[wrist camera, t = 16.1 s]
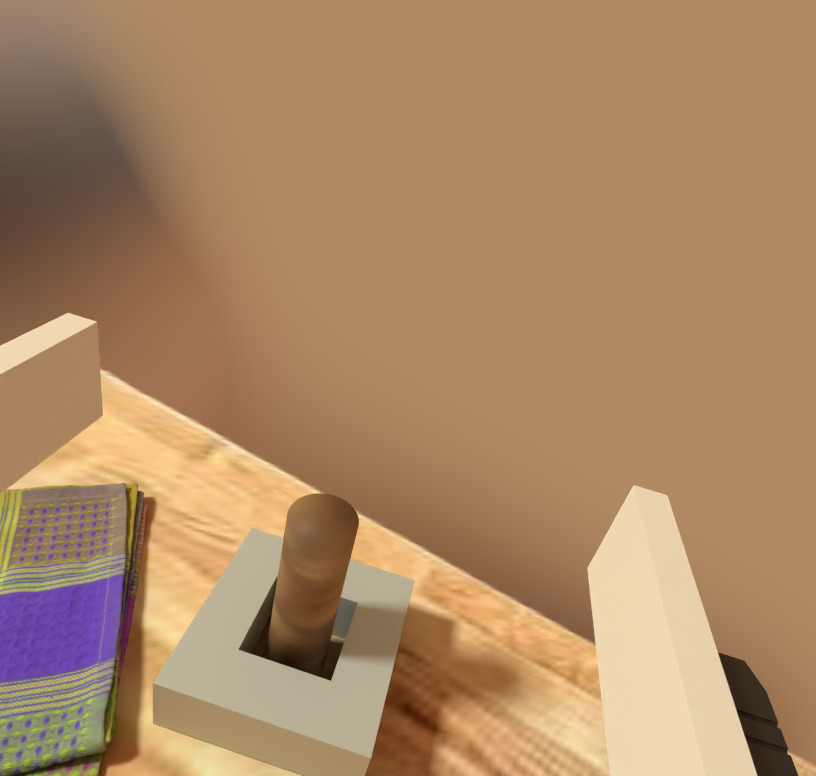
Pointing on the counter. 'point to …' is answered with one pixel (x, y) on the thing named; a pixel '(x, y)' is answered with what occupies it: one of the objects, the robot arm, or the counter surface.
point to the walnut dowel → (310, 580)
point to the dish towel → (64, 622)
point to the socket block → (284, 670)
